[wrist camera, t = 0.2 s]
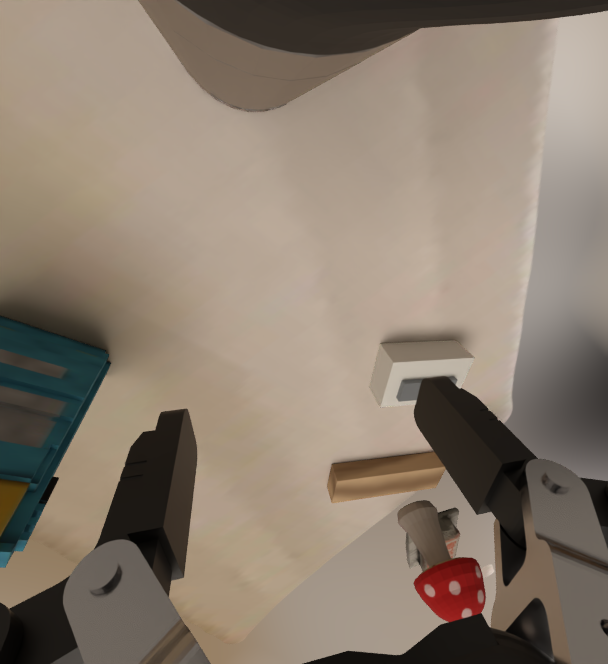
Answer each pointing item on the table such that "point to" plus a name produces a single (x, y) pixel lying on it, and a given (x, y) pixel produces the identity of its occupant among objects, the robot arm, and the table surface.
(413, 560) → the packaged product
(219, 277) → the table surface
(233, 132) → the table surface
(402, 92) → the table surface
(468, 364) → the block
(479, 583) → the decorative mushroom
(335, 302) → the table surface
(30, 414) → the handheld gaming console
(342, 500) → the batten
